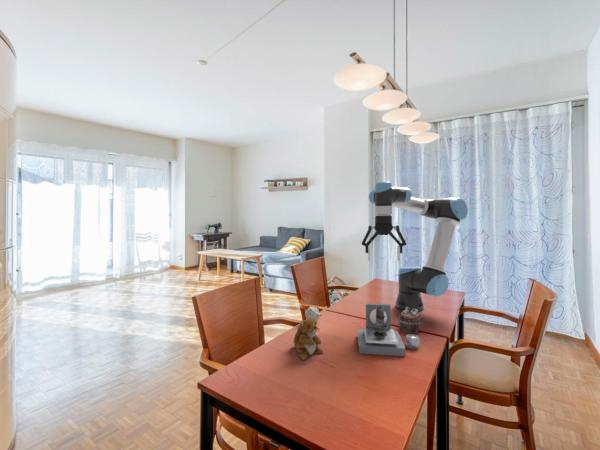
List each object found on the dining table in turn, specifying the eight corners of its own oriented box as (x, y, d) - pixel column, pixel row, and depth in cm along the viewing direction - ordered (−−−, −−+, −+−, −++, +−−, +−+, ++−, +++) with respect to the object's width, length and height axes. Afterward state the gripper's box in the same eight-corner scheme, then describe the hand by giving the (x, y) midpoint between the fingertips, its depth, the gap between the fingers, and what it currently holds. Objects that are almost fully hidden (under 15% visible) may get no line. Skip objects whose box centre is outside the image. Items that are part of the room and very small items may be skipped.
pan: (393, 334, 122) (393, 329, 122) (398, 347, 110) (398, 341, 110) (363, 332, 124) (363, 327, 124) (365, 345, 112) (365, 340, 112)
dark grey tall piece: (370, 331, 120) (370, 303, 119) (384, 331, 120) (384, 302, 120) (375, 337, 114) (375, 307, 113) (390, 337, 114) (390, 307, 114)
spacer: (417, 343, 120) (417, 334, 119) (420, 349, 115) (420, 339, 115) (404, 343, 120) (404, 333, 120) (407, 348, 116) (407, 338, 115)
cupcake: (399, 324, 141) (399, 303, 140) (421, 327, 137) (421, 306, 136) (397, 331, 132) (397, 309, 132) (420, 335, 128) (420, 312, 128)
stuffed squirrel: (303, 361, 106) (303, 326, 106) (286, 346, 119) (286, 314, 118) (326, 355, 111) (326, 321, 111) (307, 341, 124) (307, 310, 123)
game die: (315, 328, 145) (327, 312, 146) (311, 329, 138) (323, 311, 139) (302, 317, 149) (313, 301, 150) (297, 317, 142) (309, 300, 143)
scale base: (397, 338, 125) (398, 303, 125) (405, 356, 109) (405, 317, 109) (357, 335, 128) (357, 302, 127) (359, 353, 112) (359, 315, 111)
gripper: (409, 214, 138) (409, 259, 139) (356, 215, 142) (356, 258, 143) (413, 214, 131) (413, 261, 132) (356, 215, 134) (357, 261, 135)
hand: (383, 260), depth 137 cm, fingers open, 13 cm apart
